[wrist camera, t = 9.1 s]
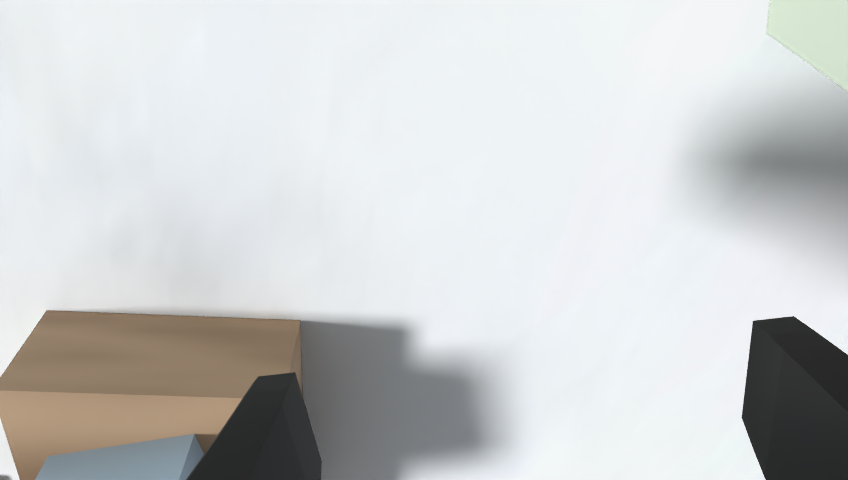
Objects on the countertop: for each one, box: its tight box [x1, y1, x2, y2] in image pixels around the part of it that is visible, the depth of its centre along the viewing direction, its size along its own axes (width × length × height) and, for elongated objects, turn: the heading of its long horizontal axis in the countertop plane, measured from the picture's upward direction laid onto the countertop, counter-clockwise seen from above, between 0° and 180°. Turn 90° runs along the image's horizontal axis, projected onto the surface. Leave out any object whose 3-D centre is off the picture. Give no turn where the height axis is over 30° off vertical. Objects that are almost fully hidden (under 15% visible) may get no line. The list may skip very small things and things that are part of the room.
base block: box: [0, 311, 303, 480], centre depth 25 cm, size 8×8×4 cm
